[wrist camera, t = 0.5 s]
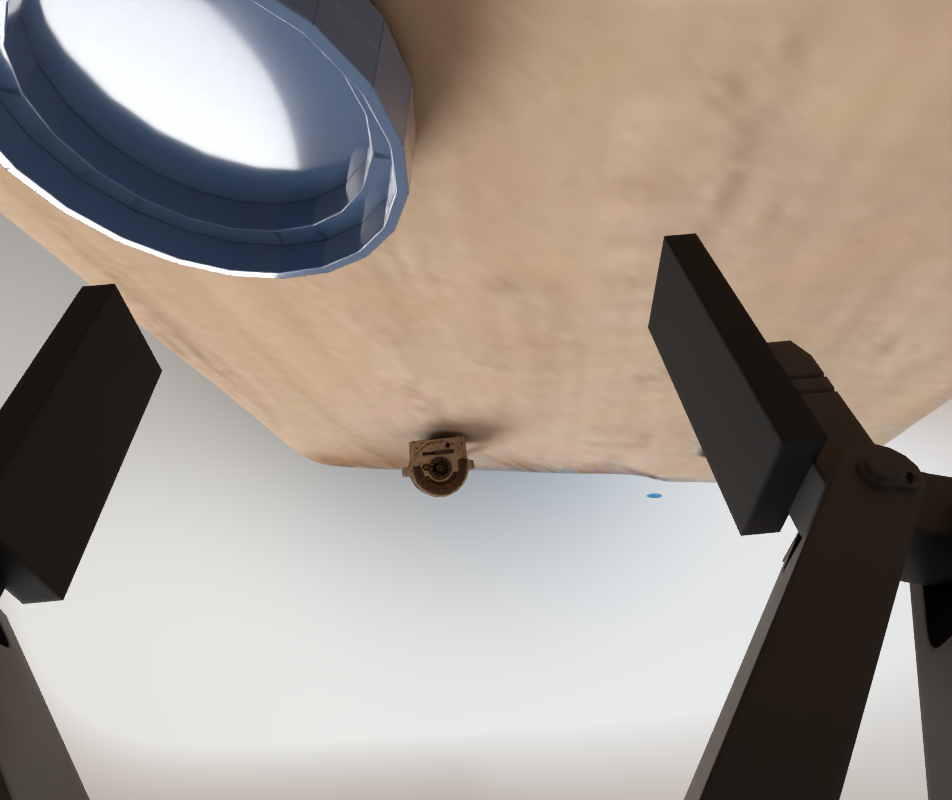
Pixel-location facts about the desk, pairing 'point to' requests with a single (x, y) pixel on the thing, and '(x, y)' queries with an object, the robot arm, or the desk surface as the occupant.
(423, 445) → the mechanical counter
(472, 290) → the desk surface
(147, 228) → the bowl
